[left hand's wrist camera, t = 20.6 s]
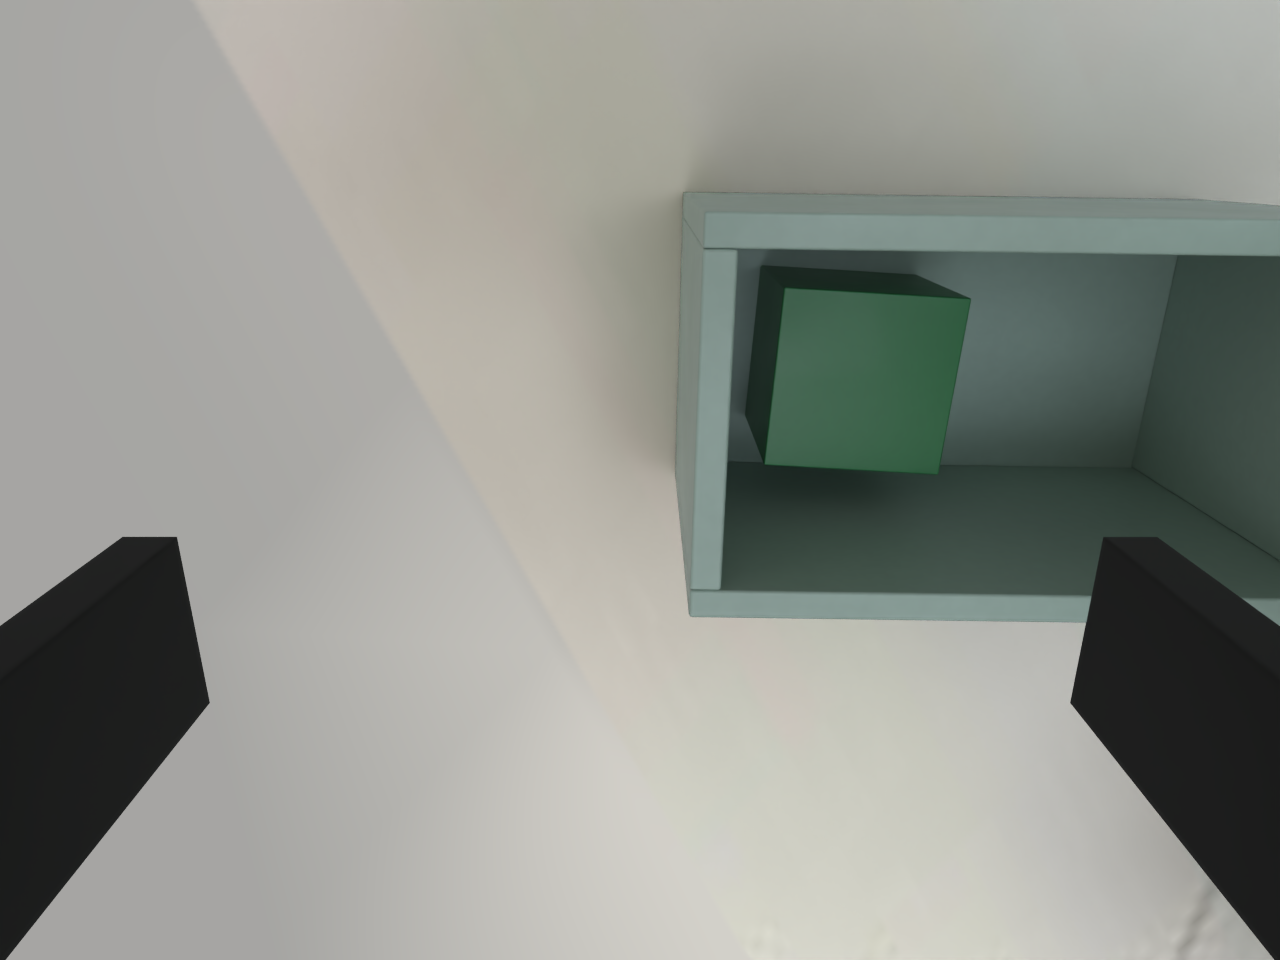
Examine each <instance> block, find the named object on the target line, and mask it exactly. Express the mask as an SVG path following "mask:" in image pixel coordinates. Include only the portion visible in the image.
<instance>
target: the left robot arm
mask: <svg viewBox="0 0 1280 960" xmlns="http://www.w3.org/2000/svg"><path fill="white" fill-rule="evenodd" d="M209 703H210V702H209V697H208V692H207V687H206V682H205V677H204V672H203V667H202V662H201V657H200V652H199V647H198V642H197V637H196V632H195V627H194V622H193V616H192V611H191V606H190V601H189V596H188V591H187V586H186V581H185V576H184V571H183V566H182V561H181V556H180V551H179V546H178V541H177V537H122V538H121V539H119V540H118V541H116V542H115V543H114V544H112V545H111V546H110V547H108V548H107V549H106V550H104V551H103V552H101V553H100V554H99V555H97V556H96V557H95V558H93V559H92V560H90V561H89V562H88V563H86V564H85V565H84V566H82V567H81V568H79V569H78V570H77V571H75V572H74V573H72V574H71V575H70V576H68V577H67V578H66V579H64V580H63V581H62V582H60V583H59V584H57V585H56V586H55V587H53V588H52V589H50V590H49V591H48V592H46V593H45V594H44V595H42V596H41V597H40V598H38V599H37V600H35V601H34V602H33V603H31V604H30V605H28V606H27V607H26V608H24V609H23V610H22V611H20V612H19V613H17V614H16V615H15V616H13V617H12V618H11V619H9V620H8V621H6V622H5V623H4V624H2V625H1V626H0V960H6V959H7V957H8V956H9V955H10V953H11V952H12V951H13V950H14V948H15V947H16V946H17V945H18V943H19V942H20V941H21V940H22V938H23V937H24V936H25V935H26V933H27V932H28V931H29V929H30V928H31V927H32V926H33V925H34V923H35V922H36V921H37V919H38V918H39V917H40V916H41V914H42V913H43V912H44V911H45V909H46V908H47V907H48V906H49V904H50V903H51V902H52V901H53V899H54V898H55V897H56V896H57V894H58V893H59V892H60V891H61V889H62V888H63V887H64V885H65V884H66V883H67V882H68V880H69V879H70V878H71V877H72V875H73V874H74V873H75V872H76V870H77V869H78V868H79V867H80V865H81V864H82V863H83V862H84V860H85V859H86V858H87V856H88V855H89V854H90V853H91V852H92V850H93V849H94V848H95V846H96V845H97V844H98V843H99V841H100V840H101V839H102V838H103V836H104V835H105V834H106V833H107V831H108V830H109V829H110V828H111V826H112V825H113V824H114V823H115V821H116V820H117V819H118V818H119V816H120V815H121V814H122V812H123V811H124V810H125V809H126V807H127V806H128V805H129V804H130V802H131V801H132V800H133V799H134V797H135V796H136V795H137V794H138V792H139V791H140V790H141V789H142V787H143V786H144V785H145V784H146V782H147V781H148V780H149V778H150V777H151V776H152V775H153V773H154V772H155V771H156V770H157V768H158V767H159V766H160V765H161V763H162V762H163V761H164V760H165V758H166V757H167V756H168V755H169V753H170V752H171V751H172V750H173V748H174V747H175V746H176V744H177V743H178V742H179V741H180V739H181V738H182V737H183V736H184V734H185V733H186V732H187V731H188V729H189V728H190V727H191V726H192V724H193V723H194V722H195V720H196V719H197V718H198V717H199V715H200V714H201V713H202V712H203V710H204V709H205V708H206V707H207V705H208V704H209ZM1070 703H1071V704H1072V705H1073V707H1074V708H1075V709H1076V711H1077V712H1078V713H1079V714H1080V716H1081V717H1082V718H1083V719H1084V721H1085V722H1086V723H1087V724H1088V726H1089V727H1090V728H1091V729H1092V731H1093V732H1094V733H1095V734H1096V736H1097V737H1098V738H1099V739H1100V741H1101V742H1102V743H1103V745H1104V746H1105V747H1106V748H1107V750H1108V751H1109V752H1110V753H1111V755H1112V756H1113V757H1114V758H1115V760H1116V761H1117V762H1118V763H1119V765H1120V766H1121V767H1122V768H1123V770H1124V771H1125V772H1126V773H1127V775H1128V776H1129V777H1130V778H1131V780H1132V781H1133V782H1134V784H1135V785H1136V786H1137V787H1138V789H1139V790H1140V791H1141V792H1142V794H1143V795H1144V796H1145V797H1146V799H1147V800H1148V801H1149V802H1150V804H1151V805H1152V806H1153V807H1154V809H1155V810H1156V811H1157V812H1158V814H1159V815H1160V816H1161V818H1162V819H1163V820H1164V821H1165V823H1166V824H1167V825H1168V826H1169V828H1170V829H1171V830H1172V831H1173V833H1174V834H1175V835H1176V836H1177V838H1178V839H1179V840H1180V841H1181V843H1182V844H1183V845H1184V846H1185V848H1186V849H1187V850H1188V852H1189V853H1190V854H1191V855H1192V857H1193V858H1194V859H1195V860H1196V862H1197V863H1198V864H1199V865H1200V867H1201V868H1202V869H1203V870H1204V872H1205V873H1206V874H1207V875H1208V877H1209V878H1210V879H1211V880H1212V882H1213V883H1214V884H1215V885H1216V887H1217V888H1218V889H1219V891H1220V892H1221V893H1222V894H1223V896H1224V897H1225V898H1226V899H1227V901H1228V902H1229V903H1230V904H1231V906H1232V907H1233V908H1234V909H1235V911H1236V912H1237V913H1238V914H1239V916H1240V917H1241V918H1242V919H1243V921H1244V922H1245V923H1246V925H1247V926H1248V927H1249V928H1250V930H1251V931H1252V932H1253V933H1254V935H1255V936H1256V937H1257V938H1258V940H1259V941H1260V942H1261V943H1262V945H1263V946H1264V947H1265V948H1266V950H1267V951H1268V952H1269V953H1270V955H1271V956H1272V957H1273V959H1274V960H1280V626H1279V625H1278V624H1276V623H1275V622H1274V621H1272V620H1271V619H1269V618H1268V617H1267V616H1265V615H1264V614H1263V613H1261V612H1260V611H1258V610H1257V609H1256V608H1254V607H1253V606H1252V605H1250V604H1249V603H1247V602H1246V601H1245V600H1243V599H1242V598H1241V597H1239V596H1238V595H1236V594H1235V593H1234V592H1232V591H1231V590H1230V589H1228V588H1227V587H1225V586H1224V585H1223V584H1221V583H1220V582H1219V581H1217V580H1216V579H1214V578H1213V577H1212V576H1210V575H1209V574H1208V573H1206V572H1205V571H1203V570H1202V569H1201V568H1199V567H1198V566H1197V565H1195V564H1194V563H1192V562H1191V561H1190V560H1188V559H1187V558H1186V557H1184V556H1183V555H1181V554H1180V553H1179V552H1177V551H1176V550H1175V549H1173V548H1172V547H1170V546H1169V545H1168V544H1166V543H1165V542H1163V541H1162V540H1161V539H1159V538H1158V537H1103V541H1102V546H1101V551H1100V556H1099V561H1098V566H1097V571H1096V576H1095V581H1094V586H1093V591H1092V596H1091V601H1090V606H1089V611H1088V616H1087V621H1086V626H1085V632H1084V637H1083V642H1082V647H1081V652H1080V657H1079V662H1078V667H1077V672H1076V677H1075V682H1074V687H1073V692H1072V697H1071V702H1070Z"/></svg>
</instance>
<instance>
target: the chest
mask: <svg viewBox="0 0 1280 960" xmlns="http://www.w3.org/2000/svg"><path fill="white" fill-rule="evenodd" d="M762 265H768V266H784V267H801V268H817V269H833V270H850V271H866V272H883V273H899V274H916V275H918V276H920V277H923V278H925V279H927V280H930V281H932V282H934V283H936V284H939V285H941V286H943V287H946V288H948V289H950V290H953V291H955V292H957V293H959V294H962V295H964V296H966V297H969V298H971V304H970V309H969V314H968V320H967V325H966V330H965V335H964V341H963V346H962V351H961V357H960V362H959V367H958V373H957V378H956V383H955V388H954V394H953V399H952V404H951V410H950V415H949V420H948V426H947V431H946V436H945V441H944V447H943V452H942V457H941V463H940V468H939V473H938V475H930V474H913V473H896V472H878V471H861V470H843V469H826V468H808V467H791V466H773V465H764V463H763V460H762V458H761V455H760V453H759V450H758V448H757V445H756V442H755V440H754V437H753V435H752V432H751V430H750V427H749V424H748V422H747V419H746V417H745V410H746V401H747V391H748V382H749V372H750V362H751V353H752V343H753V334H754V324H755V315H756V305H757V295H758V286H759V276H760V267H761V266H762ZM675 477H676V486H677V497H678V507H679V517H680V527H681V538H682V548H683V558H684V568H685V579H686V589H687V599H688V609H689V615H690V616H691V617H732V618H803V619H874V620H945V621H1016V622H1086V621H1087V616H1088V611H1089V606H1090V601H1091V596H1092V591H1093V586H1094V581H1095V576H1096V571H1097V566H1098V561H1099V556H1100V551H1101V546H1102V541H1103V537H1158V538H1159V539H1161V540H1162V541H1163V542H1165V543H1166V544H1168V545H1169V546H1170V547H1172V548H1173V549H1175V550H1176V551H1177V552H1179V553H1180V554H1181V555H1183V556H1184V557H1186V558H1187V559H1188V560H1190V561H1191V562H1192V563H1194V564H1195V565H1197V566H1198V567H1199V568H1201V569H1202V570H1203V571H1205V572H1206V573H1208V574H1209V575H1210V576H1212V577H1213V578H1214V579H1216V580H1217V581H1219V582H1220V583H1221V584H1223V585H1224V586H1225V587H1227V588H1228V589H1230V590H1231V591H1232V592H1234V593H1235V594H1236V595H1238V596H1239V597H1241V598H1242V599H1243V600H1245V601H1246V602H1247V603H1249V604H1250V605H1252V606H1253V607H1254V608H1256V609H1257V610H1258V611H1260V612H1261V613H1263V614H1264V615H1265V616H1267V617H1268V618H1269V619H1271V620H1272V621H1274V622H1275V623H1276V624H1278V625H1280V206H1278V205H1265V204H1252V203H1239V202H1226V201H1212V200H1200V199H1136V198H1066V197H996V196H926V195H855V194H785V193H715V192H684V193H683V217H682V251H681V286H680V320H679V355H678V389H677V424H676V458H675Z"/></svg>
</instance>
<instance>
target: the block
mask: <svg viewBox="0 0 1280 960" xmlns="http://www.w3.org/2000/svg"><path fill="white" fill-rule="evenodd" d="M970 304H971V298H969V297H966V296H964V295H962V294H959V293H957V292H955V291H953V290H950V289H948V288H946V287H943V286H941V285H939V284H936V283H934V282H932V281H930V280H927V279H925V278H923V277H920V276H918V275H916V274H899V273H883V272H866V271H850V270H833V269H817V268H801V267H784V266H768V265H762V266H761V267H760V276H759V286H758V295H757V305H756V315H755V324H754V334H753V343H752V353H751V362H750V372H749V382H748V391H747V401H746V410H745V417H746V419H747V422H748V424H749V427H750V430H751V432H752V435H753V437H754V440H755V442H756V445H757V448H758V450H759V453H760V455H761V458H762V460H763V463H764V465H773V466H791V467H808V468H826V469H843V470H861V471H878V472H896V473H913V474H930V475H938V473H939V468H940V463H941V457H942V452H943V447H944V441H945V436H946V431H947V426H948V420H949V415H950V410H951V404H952V399H953V394H954V388H955V383H956V378H957V373H958V367H959V362H960V357H961V351H962V346H963V341H964V335H965V330H966V325H967V320H968V314H969V309H970Z"/></svg>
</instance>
